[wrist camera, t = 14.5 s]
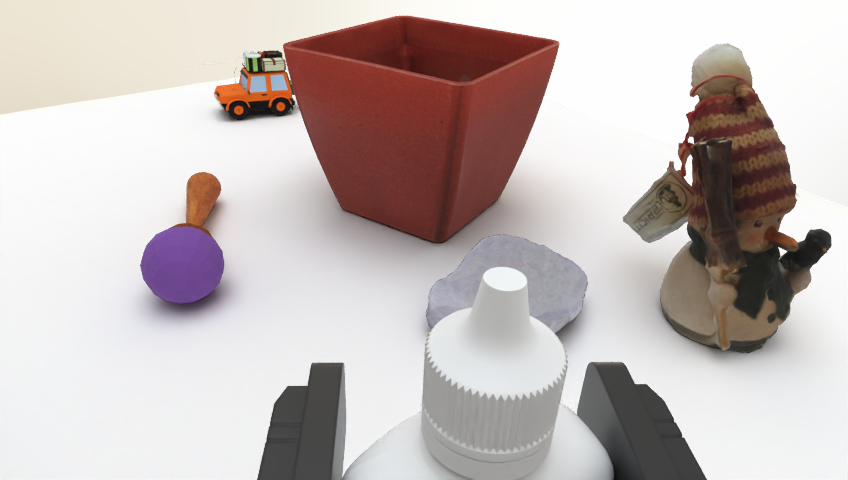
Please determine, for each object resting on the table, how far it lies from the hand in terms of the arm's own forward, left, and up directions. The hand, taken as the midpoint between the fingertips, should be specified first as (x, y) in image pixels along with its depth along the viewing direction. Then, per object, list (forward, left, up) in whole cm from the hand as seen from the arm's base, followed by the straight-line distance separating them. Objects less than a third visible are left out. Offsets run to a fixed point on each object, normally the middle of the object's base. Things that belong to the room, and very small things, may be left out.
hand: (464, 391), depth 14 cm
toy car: (-7, +78, -19) cm, 81 cm away
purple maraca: (-12, +39, -19) cm, 45 cm away
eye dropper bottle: (0, -2, -7) cm, 8 cm away
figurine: (+28, +23, -19) cm, 41 cm away
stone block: (+13, +25, -19) cm, 34 cm away
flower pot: (+10, +45, -19) cm, 50 cm away
